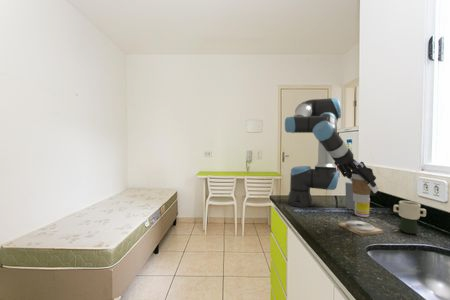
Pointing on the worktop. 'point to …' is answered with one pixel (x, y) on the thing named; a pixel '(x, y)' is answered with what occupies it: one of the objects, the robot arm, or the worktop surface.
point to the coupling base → (360, 227)
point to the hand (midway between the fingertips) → (367, 188)
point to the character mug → (409, 215)
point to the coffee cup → (360, 188)
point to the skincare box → (349, 196)
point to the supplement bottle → (362, 209)
